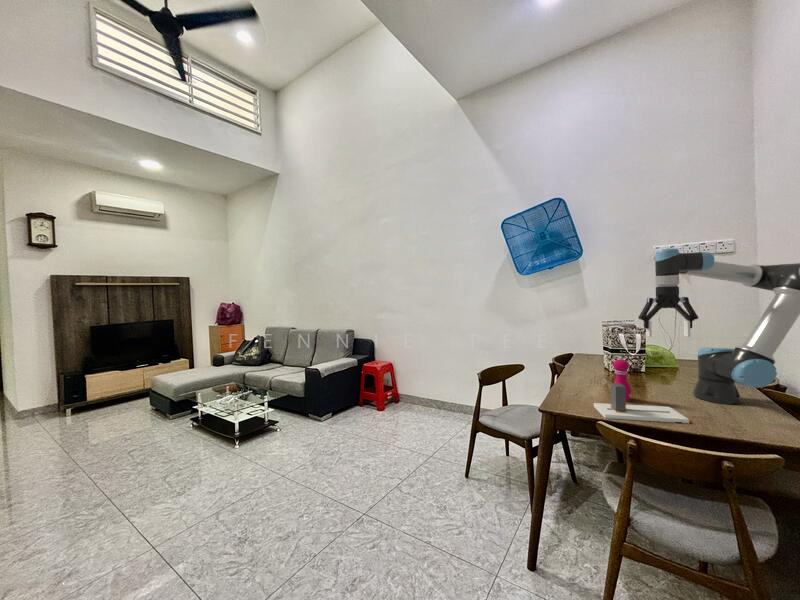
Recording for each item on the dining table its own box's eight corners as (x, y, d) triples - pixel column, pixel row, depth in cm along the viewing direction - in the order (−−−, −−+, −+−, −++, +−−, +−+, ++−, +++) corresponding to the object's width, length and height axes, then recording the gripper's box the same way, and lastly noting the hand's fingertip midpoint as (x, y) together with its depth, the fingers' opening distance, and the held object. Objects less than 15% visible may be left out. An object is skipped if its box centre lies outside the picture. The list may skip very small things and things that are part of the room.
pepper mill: (634, 402, 141) (633, 358, 140) (616, 401, 142) (615, 358, 142) (626, 396, 148) (625, 354, 147) (609, 396, 149) (608, 354, 149)
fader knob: (620, 406, 132) (620, 383, 131) (625, 411, 127) (625, 387, 127) (611, 406, 133) (610, 383, 132) (616, 410, 128) (615, 386, 127)
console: (669, 410, 131) (669, 406, 131) (689, 423, 118) (689, 419, 118) (593, 406, 138) (593, 402, 138) (605, 418, 125) (605, 414, 125)
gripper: (697, 284, 132) (697, 334, 132) (628, 287, 138) (629, 334, 139) (709, 284, 124) (710, 337, 125) (637, 287, 131) (637, 337, 131)
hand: (667, 336), depth 132 cm, fingers open, 13 cm apart
